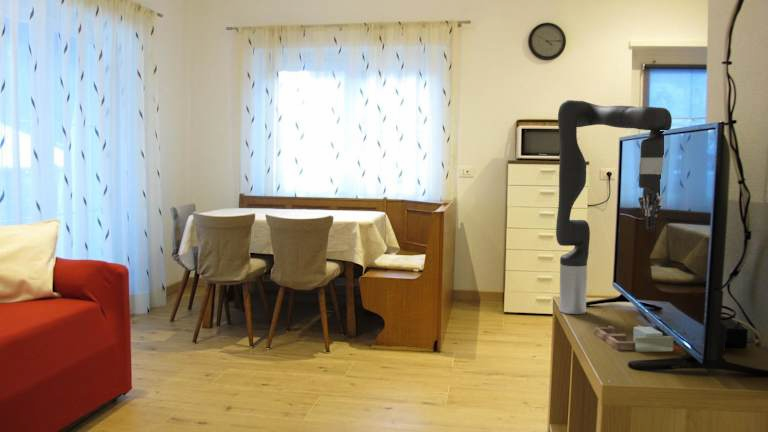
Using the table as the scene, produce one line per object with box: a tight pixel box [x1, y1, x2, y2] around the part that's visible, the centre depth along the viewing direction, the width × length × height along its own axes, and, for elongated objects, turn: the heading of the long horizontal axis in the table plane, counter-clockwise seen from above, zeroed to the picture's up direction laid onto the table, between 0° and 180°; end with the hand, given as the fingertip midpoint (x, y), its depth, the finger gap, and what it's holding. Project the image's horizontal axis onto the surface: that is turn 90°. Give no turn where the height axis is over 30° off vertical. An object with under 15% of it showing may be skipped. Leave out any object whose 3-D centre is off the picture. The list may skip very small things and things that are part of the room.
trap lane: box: [594, 324, 674, 353], centre depth 178 cm, size 20×15×4 cm
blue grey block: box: [632, 326, 664, 342], centre depth 172 cm, size 7×5×5 cm
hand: (650, 228), depth 184 cm, fingers closed
